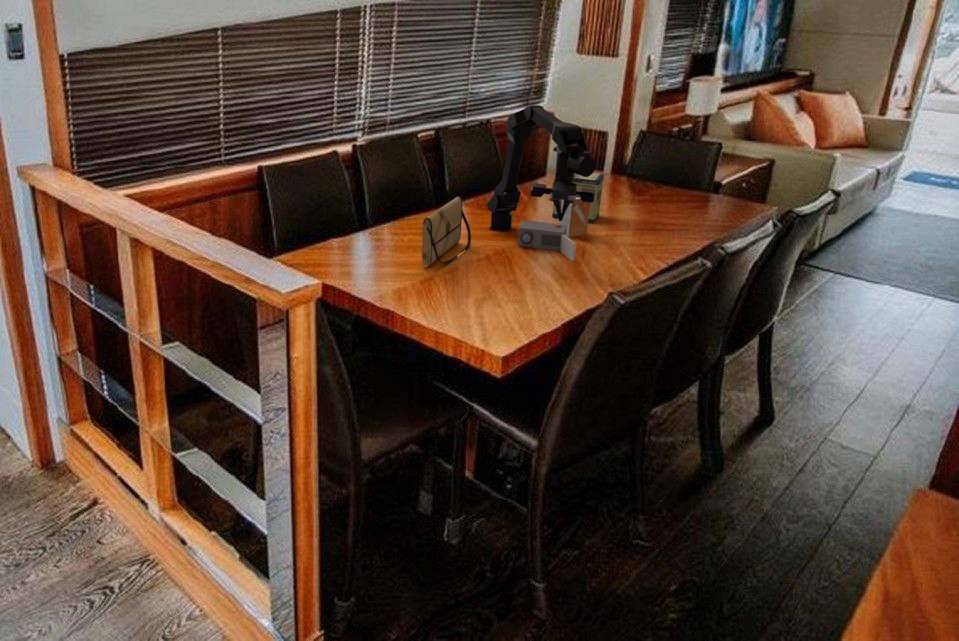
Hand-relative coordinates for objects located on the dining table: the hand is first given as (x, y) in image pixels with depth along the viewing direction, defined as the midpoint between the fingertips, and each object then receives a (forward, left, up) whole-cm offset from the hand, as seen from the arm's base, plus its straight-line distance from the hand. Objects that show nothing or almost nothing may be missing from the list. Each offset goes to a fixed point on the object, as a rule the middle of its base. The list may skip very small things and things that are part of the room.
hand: (560, 220), depth 237 cm
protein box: (0, +48, -12) cm, 50 cm away
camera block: (-7, +12, -12) cm, 18 cm away
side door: (+3, +3, -12) cm, 13 cm away
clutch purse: (-32, -9, -12) cm, 35 cm away
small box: (+1, +27, -12) cm, 30 cm away
